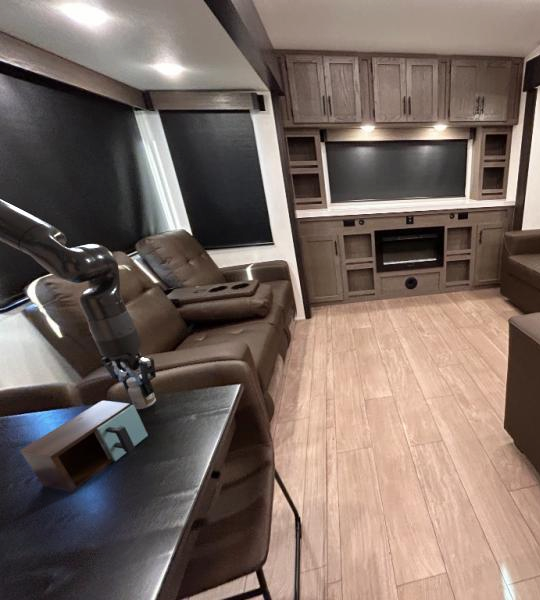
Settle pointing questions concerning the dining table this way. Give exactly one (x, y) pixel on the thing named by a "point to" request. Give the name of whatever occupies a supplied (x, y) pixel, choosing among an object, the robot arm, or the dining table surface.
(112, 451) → the glass door
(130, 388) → the pill bottle
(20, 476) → the dining table surface
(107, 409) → the cabinet
